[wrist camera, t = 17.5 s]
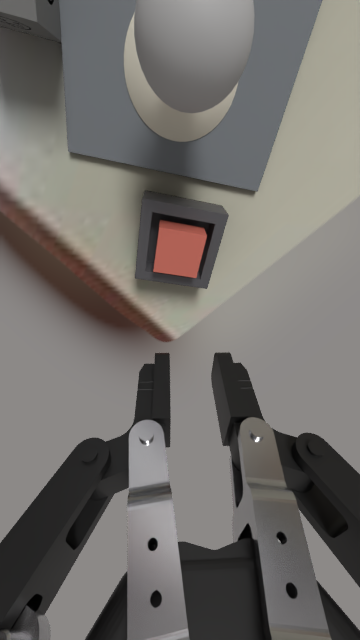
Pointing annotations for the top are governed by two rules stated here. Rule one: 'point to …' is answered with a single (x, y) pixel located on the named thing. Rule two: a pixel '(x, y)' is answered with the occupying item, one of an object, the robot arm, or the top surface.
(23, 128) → the top surface
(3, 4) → the dice cube
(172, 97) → the lightbulb
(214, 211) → the button box
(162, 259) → the button
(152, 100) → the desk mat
